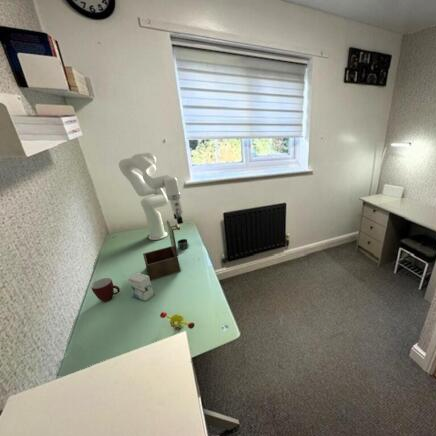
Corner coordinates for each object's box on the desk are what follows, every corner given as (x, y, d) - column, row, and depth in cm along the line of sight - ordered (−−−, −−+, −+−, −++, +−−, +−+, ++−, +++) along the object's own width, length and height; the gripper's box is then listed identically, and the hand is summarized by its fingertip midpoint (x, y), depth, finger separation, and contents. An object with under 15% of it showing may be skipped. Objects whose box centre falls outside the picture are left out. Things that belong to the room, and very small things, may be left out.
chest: (150, 280, 131) (145, 265, 127) (146, 267, 142) (142, 253, 138) (180, 271, 140) (177, 256, 136) (175, 259, 151) (172, 245, 147)
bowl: (177, 246, 166) (176, 240, 164) (187, 243, 169) (186, 238, 168) (179, 250, 161) (178, 244, 159) (189, 247, 164) (188, 241, 163)
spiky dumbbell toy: (157, 326, 103) (154, 314, 101) (167, 317, 108) (164, 305, 105) (190, 339, 98) (187, 327, 95) (199, 329, 102) (197, 317, 100)
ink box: (133, 296, 120) (127, 278, 115) (142, 290, 124) (136, 272, 119) (146, 301, 117) (140, 282, 112) (154, 294, 121) (149, 275, 117)
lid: (171, 230, 129) (181, 228, 131) (166, 220, 140) (175, 219, 143) (176, 256, 135) (186, 253, 138) (171, 245, 146) (180, 243, 149)
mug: (124, 291, 123) (119, 275, 119) (120, 301, 116) (114, 285, 112) (100, 295, 120) (94, 279, 116) (94, 306, 113) (87, 290, 109)
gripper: (183, 199, 146) (187, 224, 153) (177, 192, 159) (181, 215, 165) (170, 201, 142) (175, 227, 149) (164, 194, 155) (170, 218, 161)
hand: (178, 221), depth 157 cm, fingers open, 9 cm apart
